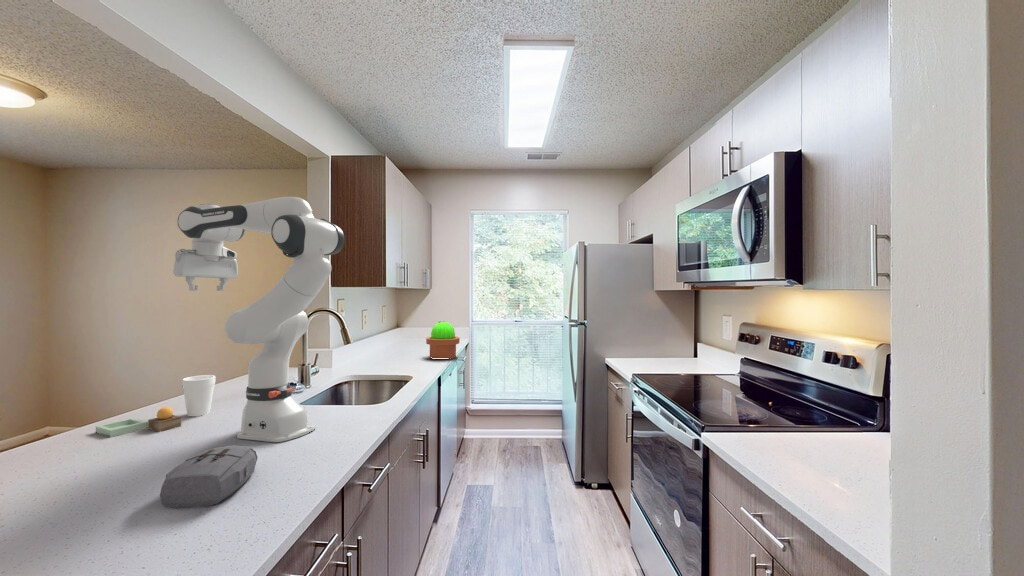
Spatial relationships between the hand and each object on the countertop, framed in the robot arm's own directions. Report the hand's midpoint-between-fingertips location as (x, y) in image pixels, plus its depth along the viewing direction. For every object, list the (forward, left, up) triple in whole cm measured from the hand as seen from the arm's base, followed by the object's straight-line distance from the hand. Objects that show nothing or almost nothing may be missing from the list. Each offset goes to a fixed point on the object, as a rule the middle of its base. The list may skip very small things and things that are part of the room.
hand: (207, 290), depth 139 cm
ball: (0, +12, -40) cm, 41 cm away
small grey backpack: (-56, +29, -45) cm, 77 cm away
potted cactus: (-4, -142, -44) cm, 149 cm away
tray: (+9, +19, -44) cm, 49 cm away
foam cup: (+6, -1, -44) cm, 45 cm away
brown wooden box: (0, +12, -44) cm, 46 cm away
